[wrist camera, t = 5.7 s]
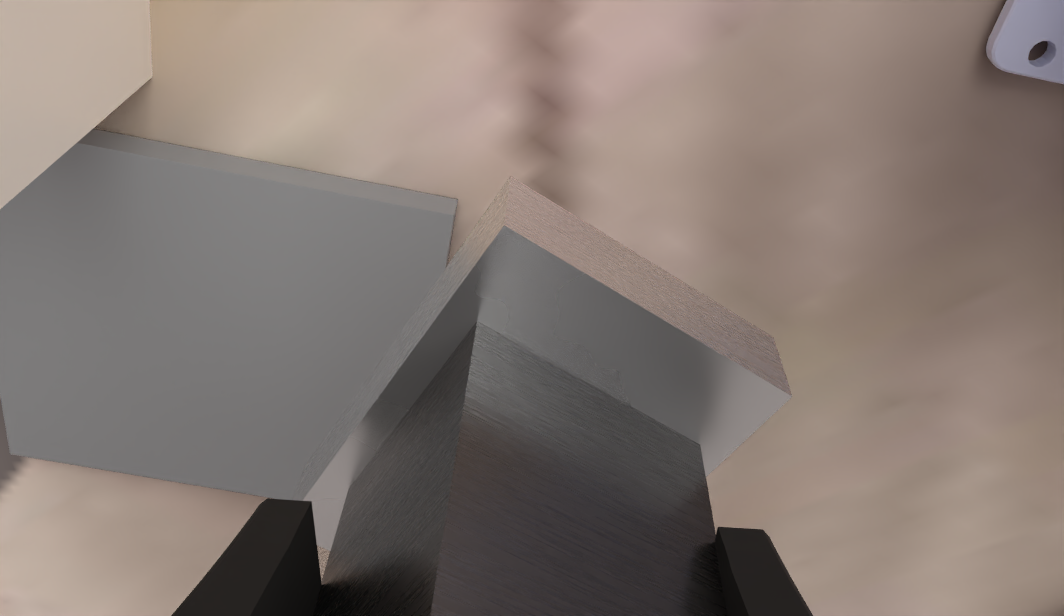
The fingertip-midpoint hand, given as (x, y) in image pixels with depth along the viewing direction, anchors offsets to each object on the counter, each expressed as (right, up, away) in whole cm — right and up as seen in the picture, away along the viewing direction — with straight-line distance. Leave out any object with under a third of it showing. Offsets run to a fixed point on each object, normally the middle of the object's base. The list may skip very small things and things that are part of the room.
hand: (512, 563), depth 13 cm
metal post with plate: (0, +2, +3) cm, 3 cm away
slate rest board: (-8, +3, +11) cm, 14 cm away
